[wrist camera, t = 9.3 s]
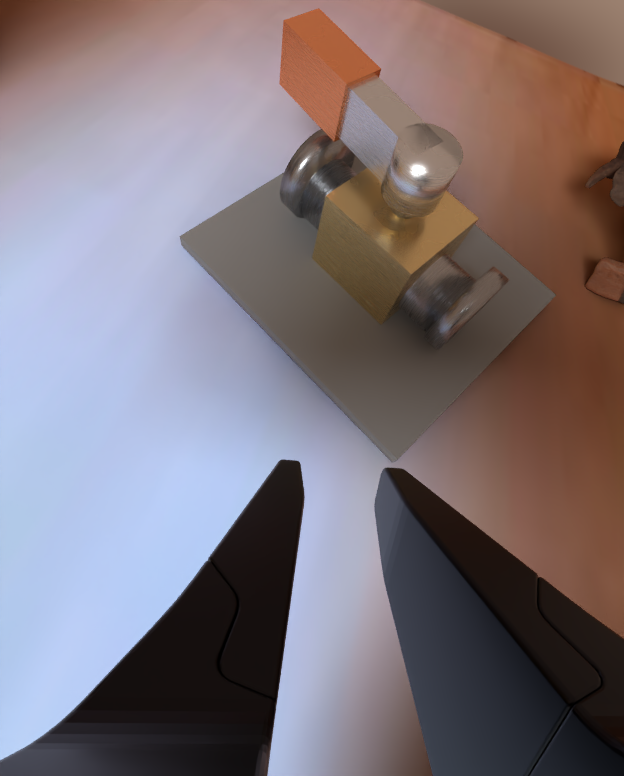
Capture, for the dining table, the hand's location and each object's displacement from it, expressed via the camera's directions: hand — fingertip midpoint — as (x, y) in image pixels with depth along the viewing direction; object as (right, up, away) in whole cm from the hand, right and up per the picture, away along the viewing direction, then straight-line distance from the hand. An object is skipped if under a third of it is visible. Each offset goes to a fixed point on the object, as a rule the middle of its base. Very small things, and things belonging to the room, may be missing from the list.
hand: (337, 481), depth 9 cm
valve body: (+3, +9, +17) cm, 19 cm away
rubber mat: (+3, +9, +17) cm, 19 cm away
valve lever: (+2, +14, +12) cm, 18 cm away
